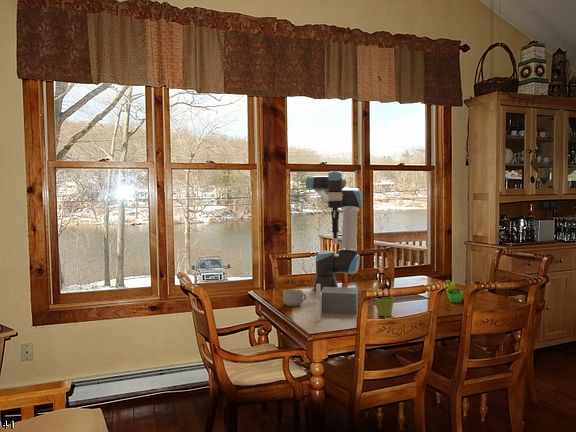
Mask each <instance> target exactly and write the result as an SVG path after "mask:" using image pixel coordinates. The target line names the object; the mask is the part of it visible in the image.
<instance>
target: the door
mask: <svg viewBox="0 0 576 432" xmlns="http://www.w3.org/2000/svg"><path fill="white" fill-rule="evenodd" d="M315 291H316V296H315V297H316V298H315V299H316V316H317V317H316V321H317V322H320V320H321V317H322V314H323V312H322V292H321V290H320V284H316V290H315Z"/></svg>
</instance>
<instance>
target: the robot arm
mask: <svg viewBox="0 0 576 432" xmlns="http://www.w3.org/2000/svg"><path fill="white" fill-rule="evenodd" d="M346 186H347V180H346V178H345V177H344V176H343V173H342V171H329V172H328V173H327V175H315V176H314V175H311V176H310V175H309V176H306V178H305V188H306V190H310V191H313V190H314V191H315V192H316V193H317V194H318V196H320V198H321V201H323V202H324V203H326V204H327V207H328V208H329V209H332V211H331V212H330V214H331V221H332V222H331V225H332V227H331V233H332V245H339V233H340V230H339V219H340V217H339V215H340V211H339V209H341V211H342V229H341V246H340V248H339V250H338V253H336V252H335V250H334V251H332V250H331V251H330V250H329V251H323V252H322V251H321V252H318V253H316V256H315V280H314V283H313V288H312V289H313V290H314V291H316V284H320V290H322V289H323V287H339V285H338V282H337V279H336V274H348V275H350V274H356V273H358V271H359V268H360V262H361V260H360V259H361V256H360V254H358V253H359V252H358V251H357V249H356V241H357V238H356V237H357V219H358V216H357V215H358V212H359V211H360V208H361V207H363V196H362V191H361V190H360V188H354V187H353V188H349V187H348V188H346Z"/></svg>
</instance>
